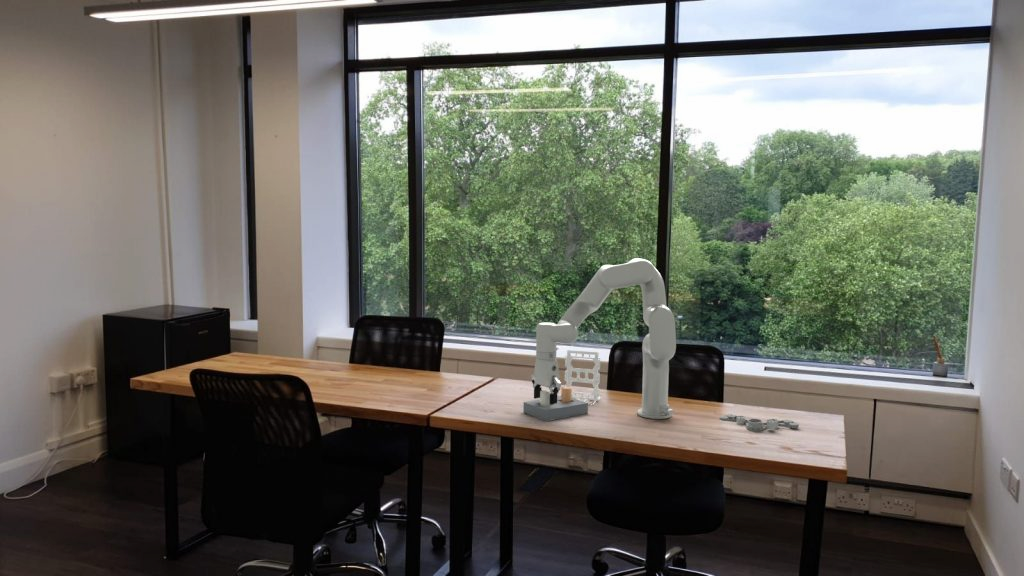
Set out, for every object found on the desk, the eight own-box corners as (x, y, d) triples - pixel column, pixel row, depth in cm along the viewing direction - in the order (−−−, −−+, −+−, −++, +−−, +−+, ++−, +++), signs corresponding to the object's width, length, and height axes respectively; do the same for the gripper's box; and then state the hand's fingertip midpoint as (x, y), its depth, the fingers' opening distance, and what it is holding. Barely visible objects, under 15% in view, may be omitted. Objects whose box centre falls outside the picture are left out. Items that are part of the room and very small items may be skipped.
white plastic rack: (559, 402, 286) (560, 353, 284) (568, 394, 299) (569, 347, 297) (595, 406, 282) (596, 356, 280) (602, 398, 295) (603, 350, 293)
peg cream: (544, 416, 265) (544, 392, 264) (537, 414, 268) (538, 390, 267) (552, 415, 267) (553, 391, 266) (546, 412, 270) (546, 389, 269)
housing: (587, 413, 270) (588, 402, 270) (545, 421, 259) (545, 410, 259) (564, 405, 282) (564, 395, 281) (523, 412, 270) (523, 401, 270)
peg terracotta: (565, 413, 270) (566, 389, 269) (558, 410, 274) (559, 387, 273) (573, 411, 273) (574, 388, 272) (566, 409, 276) (567, 386, 275)
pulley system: (795, 439, 244) (799, 426, 257) (795, 426, 243) (799, 413, 257) (714, 431, 256) (721, 418, 269) (714, 418, 256) (721, 406, 269)
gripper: (568, 358, 260) (567, 404, 262) (540, 351, 275) (539, 394, 276) (552, 360, 256) (551, 407, 258) (524, 353, 270) (523, 397, 272)
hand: (545, 400), depth 267 cm, fingers open, 9 cm apart
